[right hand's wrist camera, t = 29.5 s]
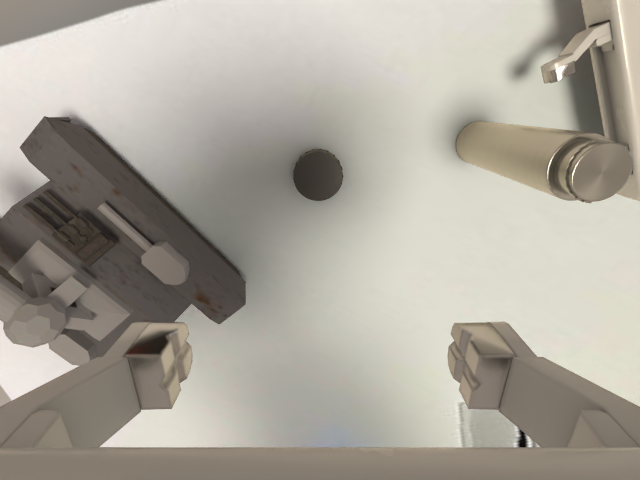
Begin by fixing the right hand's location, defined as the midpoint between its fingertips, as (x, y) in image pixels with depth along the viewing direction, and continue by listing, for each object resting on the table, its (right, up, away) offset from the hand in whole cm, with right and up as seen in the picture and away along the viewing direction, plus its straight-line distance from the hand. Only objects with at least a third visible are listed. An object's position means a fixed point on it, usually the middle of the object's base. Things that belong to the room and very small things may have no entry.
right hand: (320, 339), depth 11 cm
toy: (-24, +1, +30) cm, 39 cm away
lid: (0, +10, +25) cm, 27 cm away
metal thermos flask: (+16, +13, +25) cm, 33 cm away
